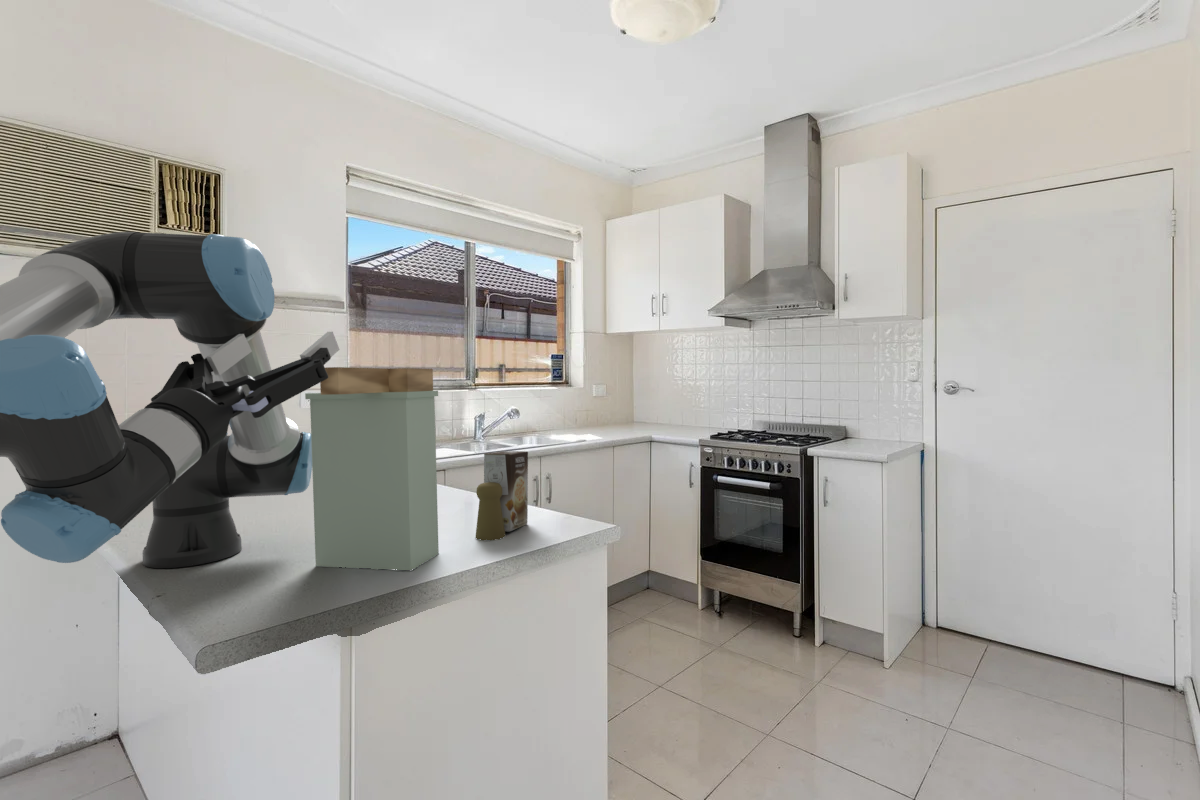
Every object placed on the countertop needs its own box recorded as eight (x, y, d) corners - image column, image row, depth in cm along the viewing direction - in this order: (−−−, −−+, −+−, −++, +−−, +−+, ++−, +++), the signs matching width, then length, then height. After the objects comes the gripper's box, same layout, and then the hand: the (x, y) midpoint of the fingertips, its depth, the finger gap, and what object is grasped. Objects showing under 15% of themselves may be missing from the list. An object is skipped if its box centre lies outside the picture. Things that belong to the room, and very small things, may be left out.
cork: (499, 541, 117) (498, 485, 117) (470, 540, 118) (469, 485, 118) (509, 533, 123) (508, 480, 123) (482, 532, 124) (481, 480, 124)
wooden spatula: (299, 394, 89) (298, 368, 88) (383, 391, 111) (383, 369, 110) (360, 394, 87) (359, 366, 86) (433, 390, 109) (432, 368, 108)
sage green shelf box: (311, 567, 102) (305, 393, 101) (350, 548, 113) (345, 391, 112) (412, 572, 99) (407, 392, 98) (442, 553, 109) (438, 390, 108)
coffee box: (511, 532, 122) (511, 453, 122) (482, 530, 123) (482, 453, 124) (528, 524, 130) (528, 450, 131) (501, 522, 132) (502, 450, 133)
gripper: (95, 459, 68) (222, 366, 85) (288, 463, 63) (380, 364, 81) (56, 405, 64) (197, 319, 81) (259, 405, 59) (363, 313, 76)
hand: (289, 341), depth 81 cm, fingers open, 13 cm apart
